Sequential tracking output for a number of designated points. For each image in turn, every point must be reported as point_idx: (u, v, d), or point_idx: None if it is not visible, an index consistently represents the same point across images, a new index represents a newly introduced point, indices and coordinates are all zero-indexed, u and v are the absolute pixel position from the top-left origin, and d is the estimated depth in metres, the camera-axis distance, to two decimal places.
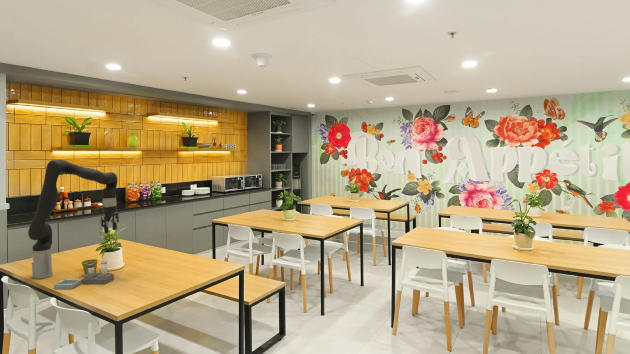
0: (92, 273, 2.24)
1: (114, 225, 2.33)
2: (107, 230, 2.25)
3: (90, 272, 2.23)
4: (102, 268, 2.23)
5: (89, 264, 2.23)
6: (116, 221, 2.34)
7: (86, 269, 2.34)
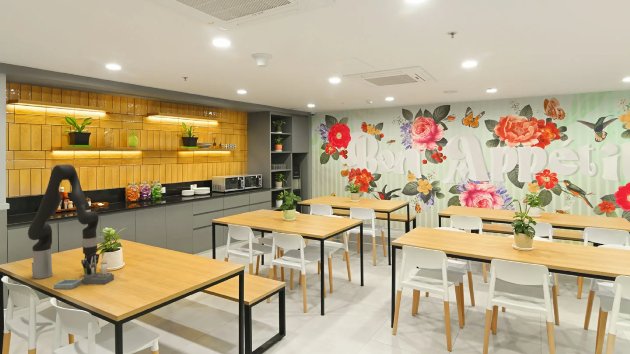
0: (92, 273, 2.24)
1: None
2: (90, 271, 2.23)
3: None
4: (102, 268, 2.23)
5: None
6: (95, 263, 2.27)
7: (86, 269, 2.34)
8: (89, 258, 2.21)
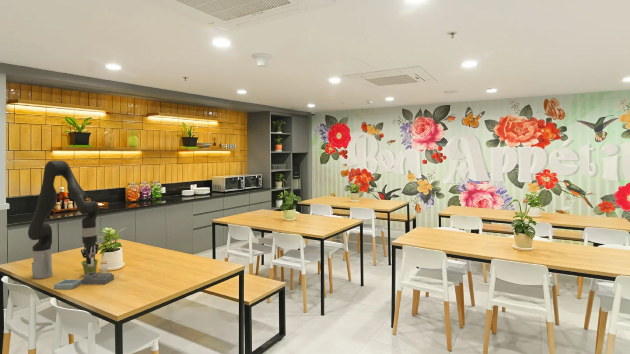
0: (91, 263, 2.24)
1: None
2: (89, 261, 2.22)
3: None
4: (102, 268, 2.23)
5: (88, 254, 2.23)
6: (95, 253, 2.27)
7: (86, 269, 2.34)
8: (88, 248, 2.21)
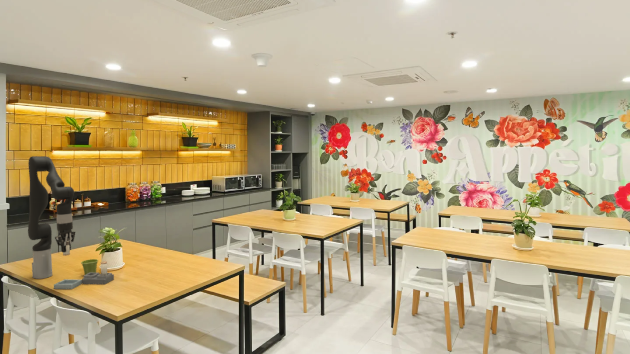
0: (67, 251, 2.15)
1: None
2: (64, 249, 2.13)
3: None
4: (102, 268, 2.23)
5: None
6: (70, 241, 2.18)
7: (86, 269, 2.34)
8: (63, 235, 2.12)
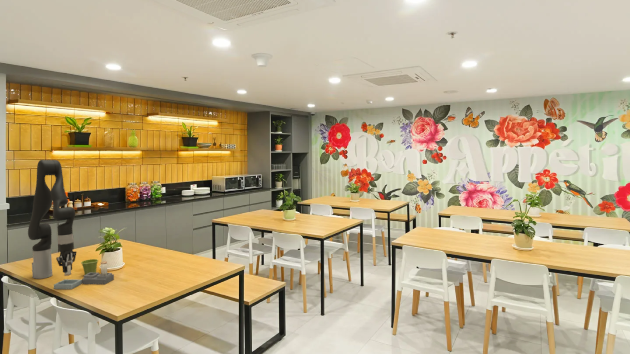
0: (68, 271, 2.16)
1: None
2: (66, 269, 2.14)
3: None
4: (102, 268, 2.23)
5: None
6: (72, 261, 2.19)
7: (86, 269, 2.34)
8: (65, 255, 2.13)
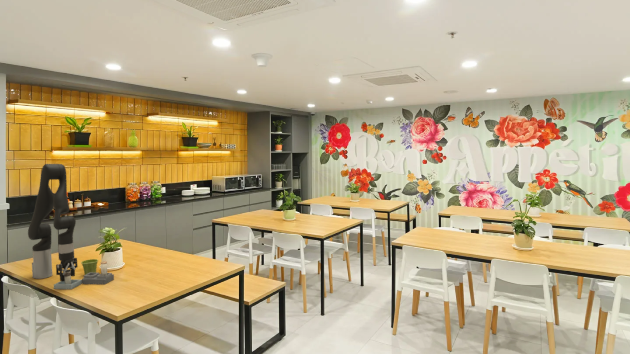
0: (69, 282, 2.16)
1: (72, 271, 2.21)
2: (63, 278, 2.12)
3: (66, 281, 2.16)
4: (102, 268, 2.23)
5: (65, 272, 2.15)
6: (74, 267, 2.21)
7: (86, 269, 2.34)
8: (65, 264, 2.14)
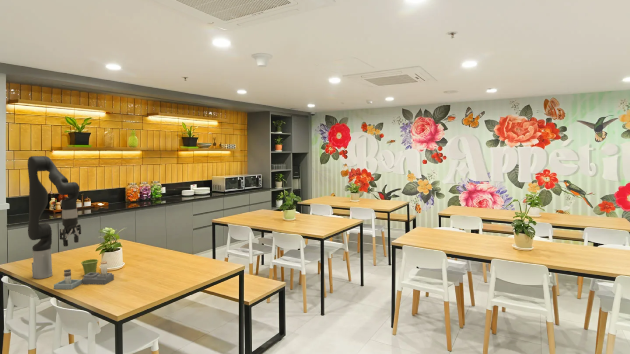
0: (69, 282, 2.16)
1: (75, 237, 2.22)
2: (66, 243, 2.13)
3: (66, 281, 2.16)
4: (102, 268, 2.23)
5: (65, 272, 2.15)
6: (78, 233, 2.22)
7: (86, 269, 2.34)
8: (69, 229, 2.15)
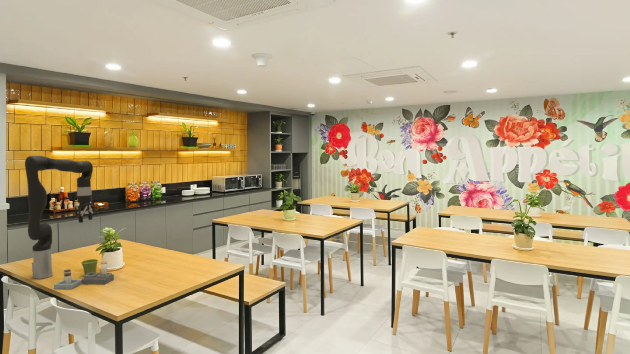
0: (69, 282, 2.16)
1: (89, 215, 2.30)
2: (81, 219, 2.21)
3: (66, 281, 2.16)
4: (102, 268, 2.23)
5: (65, 272, 2.15)
6: (92, 211, 2.30)
7: (86, 269, 2.34)
8: (83, 206, 2.22)
